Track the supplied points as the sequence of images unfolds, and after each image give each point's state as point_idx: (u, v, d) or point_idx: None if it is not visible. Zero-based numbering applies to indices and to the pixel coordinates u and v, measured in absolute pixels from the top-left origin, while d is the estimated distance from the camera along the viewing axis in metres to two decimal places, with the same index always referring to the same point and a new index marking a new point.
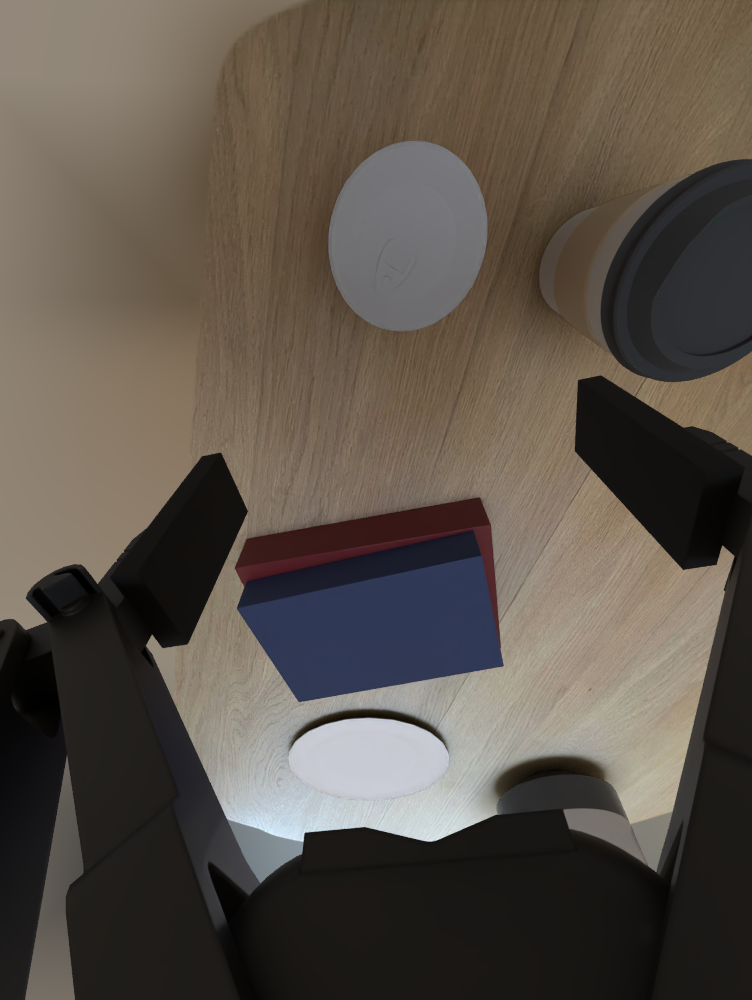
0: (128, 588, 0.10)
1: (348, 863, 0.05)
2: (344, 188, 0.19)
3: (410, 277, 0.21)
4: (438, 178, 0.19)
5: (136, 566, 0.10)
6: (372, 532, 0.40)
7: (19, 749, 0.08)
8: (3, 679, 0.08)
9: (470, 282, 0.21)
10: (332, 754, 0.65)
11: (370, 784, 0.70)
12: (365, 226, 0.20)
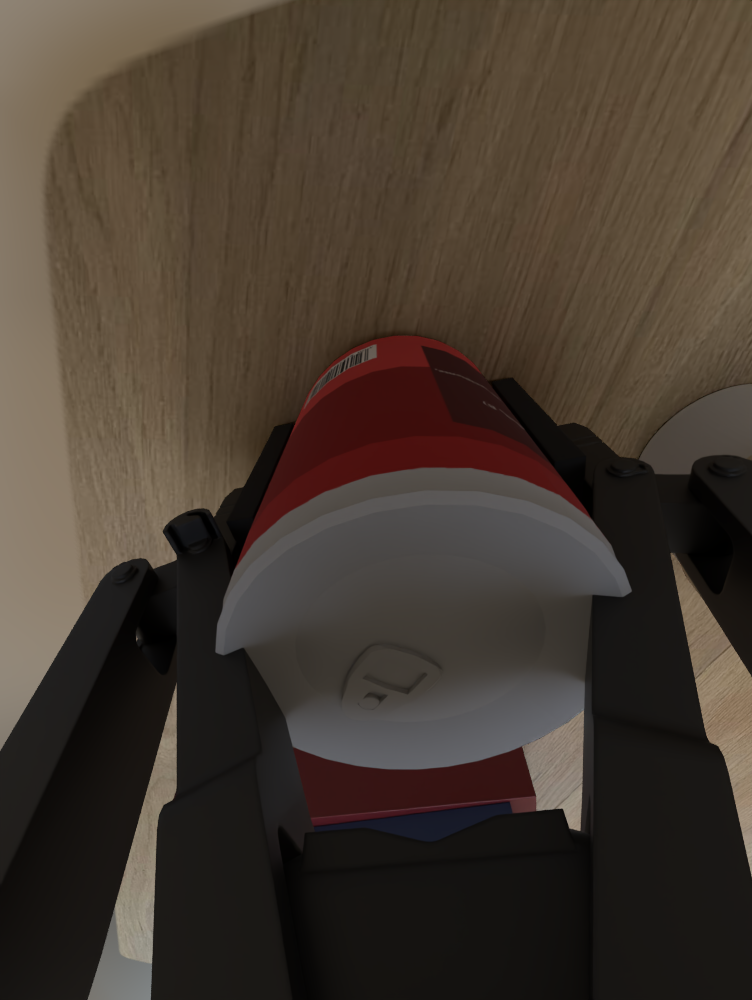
0: (241, 533, 0.11)
1: (348, 863, 0.05)
2: (243, 581, 0.07)
3: (425, 694, 0.09)
4: (510, 552, 0.07)
5: (249, 512, 0.11)
6: (360, 779, 0.28)
7: (136, 682, 0.09)
8: (131, 615, 0.09)
9: (571, 717, 0.09)
10: None
11: None
12: (311, 624, 0.08)
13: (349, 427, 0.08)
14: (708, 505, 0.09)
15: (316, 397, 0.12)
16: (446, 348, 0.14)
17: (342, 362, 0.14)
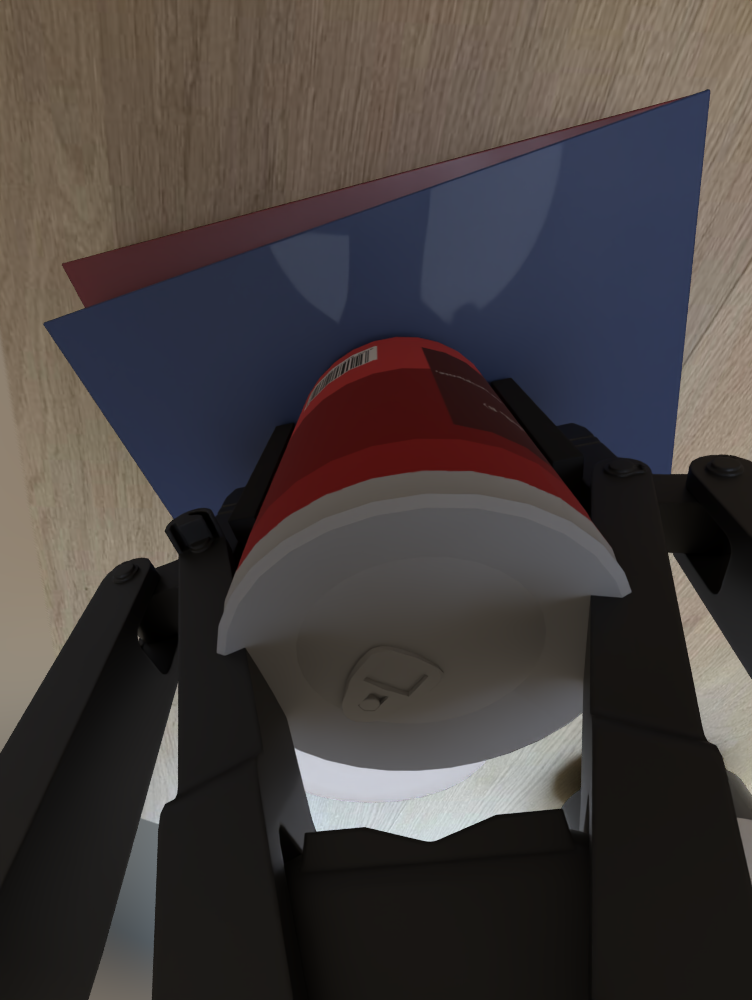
0: (242, 532, 0.11)
1: (348, 863, 0.05)
2: (245, 584, 0.07)
3: (426, 696, 0.09)
4: (512, 554, 0.07)
5: (250, 512, 0.11)
6: None
7: (138, 681, 0.09)
8: (133, 615, 0.09)
9: (571, 719, 0.09)
10: None
11: (373, 779, 0.47)
12: (312, 626, 0.08)
13: (350, 429, 0.08)
14: (705, 505, 0.09)
15: (317, 399, 0.12)
16: (446, 350, 0.14)
17: (343, 364, 0.14)
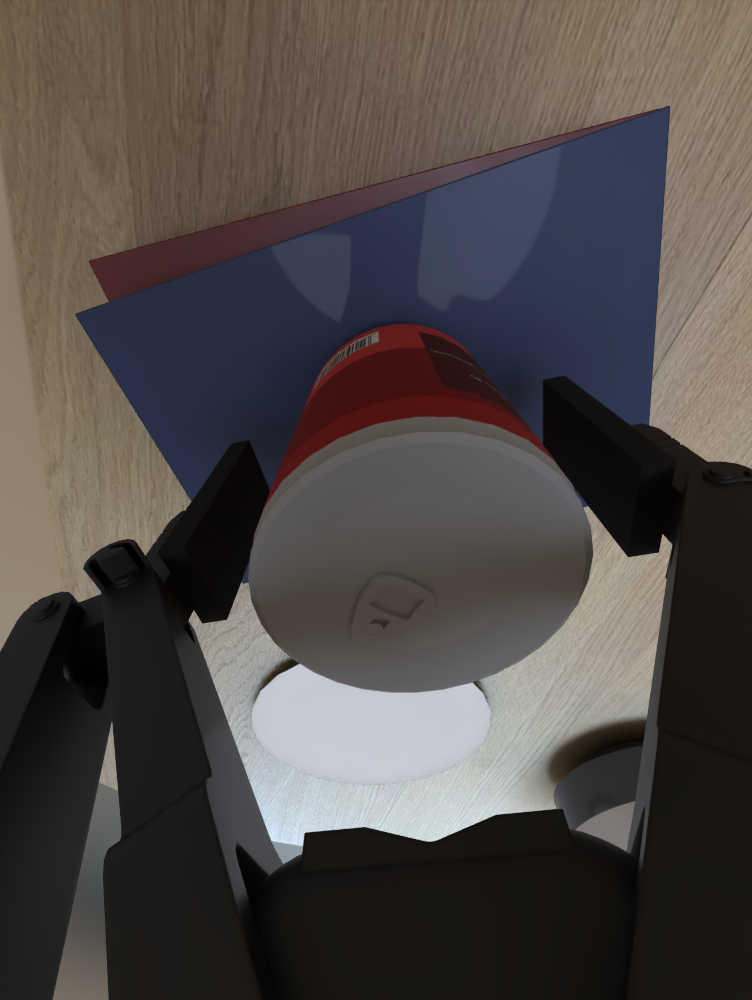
0: (174, 563, 0.11)
1: (348, 863, 0.05)
2: (274, 511, 0.08)
3: (422, 621, 0.10)
4: (488, 486, 0.08)
5: (182, 542, 0.11)
6: None
7: (67, 718, 0.08)
8: (56, 650, 0.09)
9: (545, 638, 0.10)
10: (317, 713, 0.44)
11: (373, 761, 0.49)
12: (327, 555, 0.09)
13: (357, 394, 0.10)
14: None
15: (326, 377, 0.14)
16: (441, 334, 0.15)
17: (348, 347, 0.15)
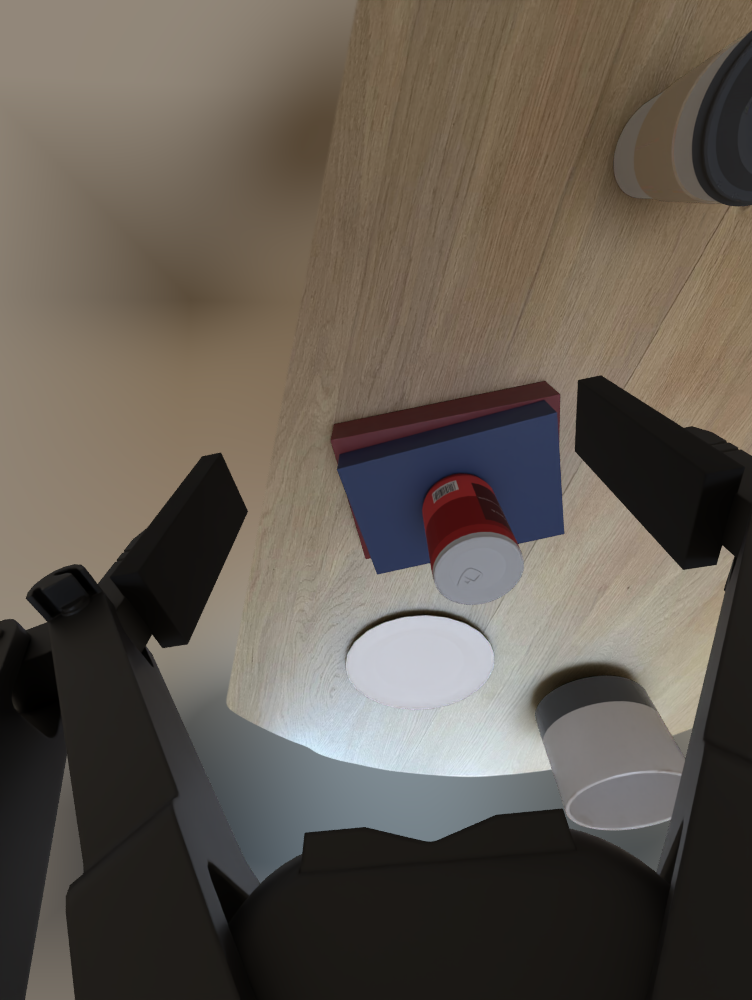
0: (128, 588, 0.10)
1: (348, 863, 0.05)
2: (446, 553, 0.35)
3: (478, 581, 0.37)
4: (497, 547, 0.35)
5: (136, 566, 0.10)
6: (451, 408, 0.45)
7: (19, 749, 0.08)
8: (3, 679, 0.08)
9: (513, 586, 0.37)
10: (386, 658, 0.70)
11: (418, 692, 0.75)
12: (455, 563, 0.36)
13: (461, 519, 0.36)
14: None
15: (440, 501, 0.40)
16: (478, 481, 0.42)
17: (445, 486, 0.42)
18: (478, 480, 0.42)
